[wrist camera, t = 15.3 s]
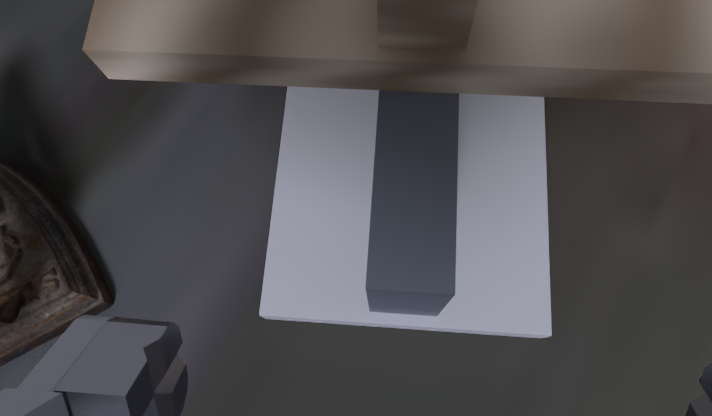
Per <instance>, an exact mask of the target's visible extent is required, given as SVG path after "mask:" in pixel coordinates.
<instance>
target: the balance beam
mask: <svg viewBox="0 0 712 416" xmlns="http://www.w3.org/2000/svg"><path fill="white" fill-rule="evenodd" d="M82 50H83V51H84V52H85V53H86V54H87V55H88V56H89V57H90V59H91V60H92V61H93V62H94V63H95V64H96V65H97V66H98V67H99V69H100V70H101V71H102V72H103V73H104V74H105V75H106V76H107V77H108V78H109V79H122V80H146V81H170V82H194V83H218V84H242V85H266V86H290V87H315V88H339V89H363V90H387V91H411V92H435V93H459V94H483V95H508V96H532V97H556V98H580V99H604V100H628V101H652V102H677V103H701V104H712V0H95V2H94V5H93V9H92V13H91V17H90V21H89V25H88V29H87V33H86V37H85V41H84V45H83V49H82Z"/></svg>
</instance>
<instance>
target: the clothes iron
mask: <svg viewBox="0 0 712 416" xmlns="http://www.w3.org/2000/svg"><path fill="white" fill-rule="evenodd" d="M112 305H113V300H112V297H111V294H110V291H109V289H108V286H107V284H106V282H105V280H104V277H103V275H102V273H101V271H100V269H99V267H98V265H97V263H96V261H95V259H94V257H93V255H92V253H91V251H90V249H89V248H88V246H87V244H86V242H85V240H84V239H83V237H82V235H81V234H80V232H79V231H78V229H77V227H76V226H75V225H74V223H73V222H72V220H71V219H70V218H69V216H68V215H67V214H66V213H65V211H64V210H63V209H62V208H61V206H60V205H59V204H58V203H57V202H56V201H55V200H54V199H53V198H52V197H51V196H50V195H49V194H48V193H47V192H46V191H45V190H44V189H42V188H41V187H40V186H39V185H37V184H36V183H35V182H34V181H33V180H32V179H30V178H29V177H27V176H26V175H24V174H23V173H21V172H20V171H18V170H16V169H15V168H13V167H10V166H9V165H7V164H4V163H1V162H0V366H2V365H4V364H6V363H8V362H9V361H11V360H13V359H15V358H17V357H19V356H21V355H22V354H24V353H26V352H28V351H30V350H32V349H34V348H35V347H37V346H39V345H41V344H43V343H45V342H47V341H49V340H51V339H53V338H55V337H56V336H58V335H60V334H62V333H64V332H65V331H66V329H67V328H68V327H69V326H70V325H71V323H72V322H73V321H74V320H75V319H76V318H78V317H81V316H83V315H93V316H95V315H97V314H99V313H101V312H103V311H104V310H106V309H108V308H110V307H111V306H112Z"/></svg>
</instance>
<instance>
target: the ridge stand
mask: <svg viewBox="0 0 712 416" xmlns="http://www.w3.org/2000/svg"><path fill="white" fill-rule="evenodd" d="M259 316H261V317H263V318H265V319H274V320H288V321H303V322H317V323H331V324H345V325H359V326H374V327H388V328H402V329H416V330H430V331H445V332H459V333H473V334H487V335H501V336H515V337H530V338H545V337H549V336H552V332H551V300H550V269H549V237H548V206H547V174H546V143H545V111H544V97H532V96H508V95H483V94H459V93H435V92H411V91H387V90H363V89H339V88H315V87H290V86H288V87H287V95H286V103H285V111H284V119H283V127H282V135H281V143H280V151H279V159H278V167H277V175H276V183H275V191H274V199H273V207H272V215H271V223H270V231H269V239H268V247H267V255H266V264H265V272H264V280H263V288H262V296H261V304H260V312H259Z"/></svg>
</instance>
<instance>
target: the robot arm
mask: <svg viewBox="0 0 712 416" xmlns="http://www.w3.org/2000/svg"><path fill="white" fill-rule="evenodd" d="M181 344H182V338H181V333H180V328H179V326H178V325H176V324H175V323H172V322H162V321H151V320H141V319H131V318H120V317H114V318H112V317H104V316H93V315H83V316H81V317H78V318H76V319H75V320H74V321H73V322H72V323H71V325H70V326H69V327H68V328H67V329H66V331H65V332H64V333H63V334H62V335H61V336H60V338H59V339H58V340H57V341H56V342H55V343H54V345H53V346H52V347H51V348H50V349H49V351H48V352H47V353H46V354H45V355H44V356H43V358H42V359H41V360H40V361H39V362H38V363H37V365H36V366H35V367H34V368H33V369H32V371H31V372H30V373H29V374H28V375H27V376H26V378H25V379H24V380H23V381H22V382H21V383H20V385H19V386H18V387H17V388H16V389H9V388H5V389H4V390H2V391H0V416H180V414H181V412H182V410H183V407H184V402H185V398H186V394H187V386H188V374H187V367H186V363H185V362H184V361H183V360H182V359H181V358H180V357H179V356H178V355H177V352H178V350H179V348H180V346H181ZM699 382H700V384H701V386H702V388H703V389H704V391H705V393H704V394H702V395H701V396H699V397H698V398H696V399H695V400H694V401H692V402H691V403H690V404H689V407H688V410H687V413H686V416H712V363H710V364H709V365H708V366H707V367H706V368H705V369H704V371H703V373H702V376H701V378H700V380H699Z"/></svg>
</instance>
